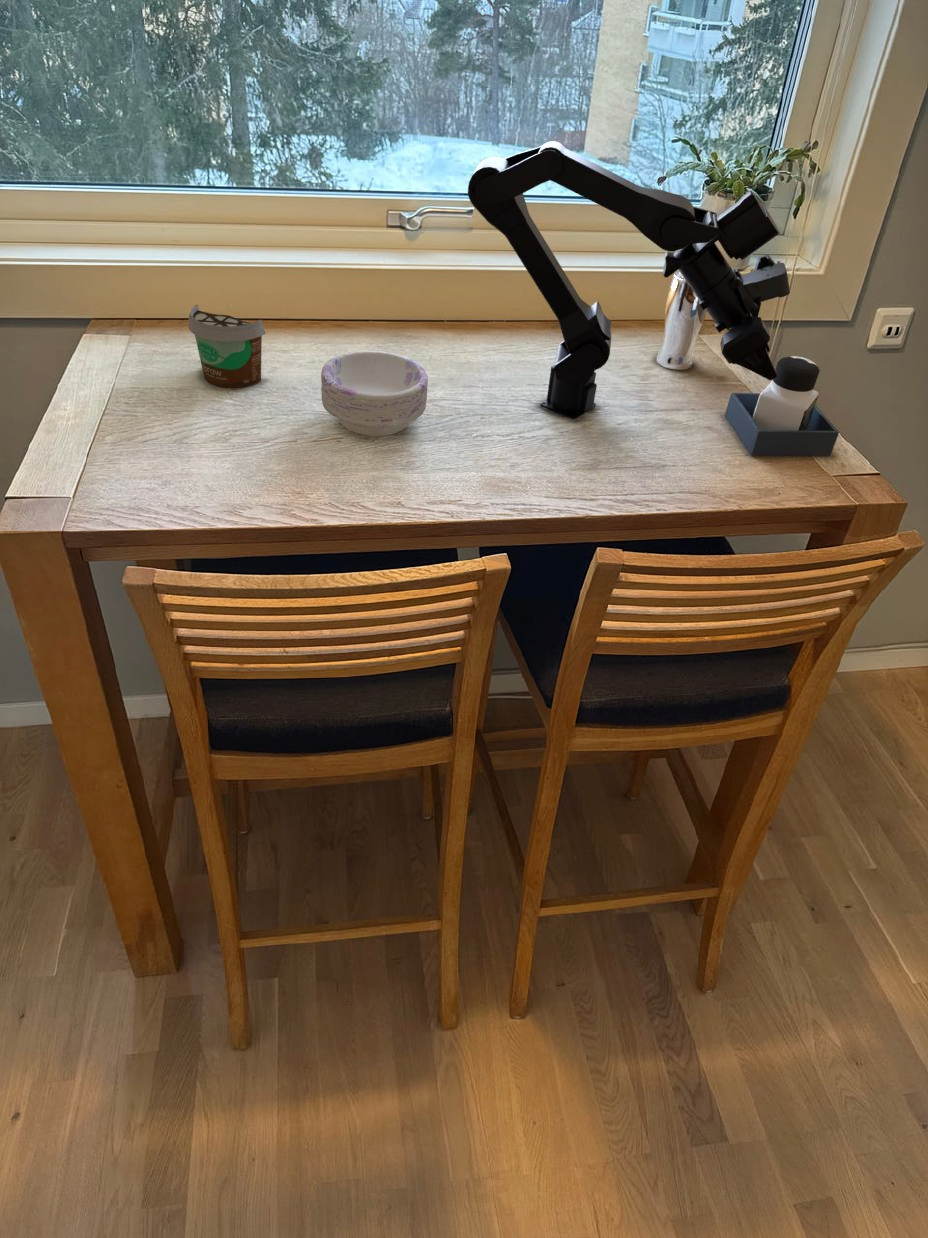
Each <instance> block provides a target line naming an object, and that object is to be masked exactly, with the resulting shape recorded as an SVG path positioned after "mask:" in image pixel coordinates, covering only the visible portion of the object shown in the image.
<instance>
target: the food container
mask: <svg viewBox="0 0 928 1238" xmlns="http://www.w3.org/2000/svg"><path fill="white" fill-rule="evenodd" d="M187 324H188V330H189V331H190V332H191V333H192V334H193V335H194V338H195V342H196V347H197V351H198V355H199V356H198V357H199V360H200V364H201V370H202V373H203V374H202V375H203V378H204V380H205V381H206V382H207V383H208V384H210V385H212V386H215V387H218V388H223V389H242V388H247V387H251V386H254V385H256V384H258V383H260V382H262V344H263V343H262V342H263V341H262V340H263V338H262V337H263V336H264V335H266V329H265V326H264V323H263V321H262V319H259V320H258V321H255V322H252V323H251V322H247V321H244V320H242V319H239V318H237V317H234V316H231V315H227V314H216V313H211V312H207V311H202V310H200V309H199V305H198V303H197V304H195V305H193V306H192V308H191V309H190V313H189V316H188V323H187Z"/></svg>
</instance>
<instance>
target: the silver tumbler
mask: <svg viewBox="0 0 928 1238" xmlns="http://www.w3.org/2000/svg"><path fill="white" fill-rule="evenodd" d="M672 275H673V276H672V278H671V281H670V282H671V283H670V286H669V289H668V293H667V296H666V302H665V310H664V328H663V339H662V343H661V346H660V349H659V351H658V354H657V356H656V362H657V364H658V365H660V366H661V367H663V368H666V369H669V370H675V371H683V370H688V369H690V368H691V367H692V364H693V353H694V347H695V343H696V340H697V338H698V335H699V333H700V330H701V328H702V327H703V324H704V321H705V319H706V316H707V313H708V312H707V310H706V309H705V310H703V309H702V307H701V306H700V304H699V299H698V297H697V296H696V294H695V293H694V291H693V290H692V289H691V287H690V286H689V284H688V283H687V281H686V280H685V278H684V277H683V276H682V274H681V273H680V271H679V270H677V271H676V272H674V273H673V274H672Z"/></svg>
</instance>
